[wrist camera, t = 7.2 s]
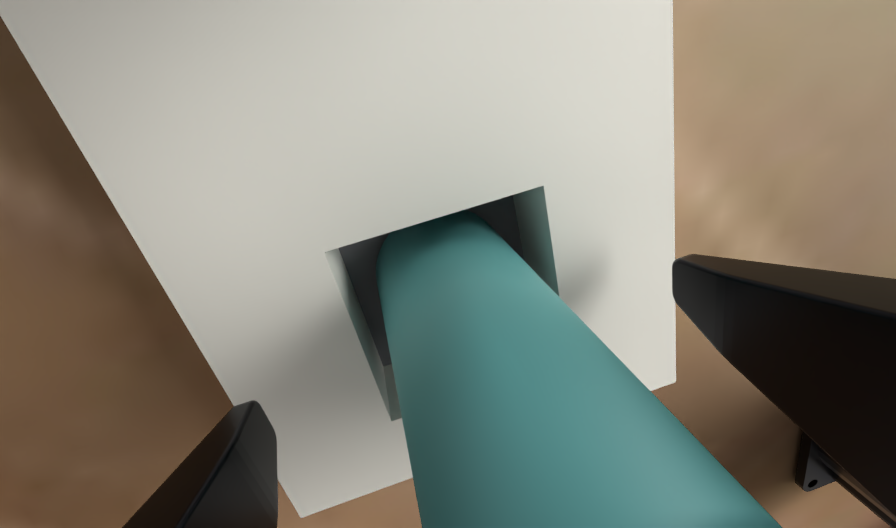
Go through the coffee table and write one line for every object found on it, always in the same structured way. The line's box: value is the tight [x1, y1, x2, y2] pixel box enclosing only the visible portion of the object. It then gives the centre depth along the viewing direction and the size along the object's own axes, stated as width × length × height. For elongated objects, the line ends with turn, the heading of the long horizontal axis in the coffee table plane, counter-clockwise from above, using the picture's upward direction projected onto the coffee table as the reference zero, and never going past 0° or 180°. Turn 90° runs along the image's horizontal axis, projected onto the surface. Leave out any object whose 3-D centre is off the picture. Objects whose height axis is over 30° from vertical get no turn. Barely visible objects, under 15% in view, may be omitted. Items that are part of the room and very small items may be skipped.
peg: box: [376, 210, 782, 528], centre depth 8 cm, size 4×4×9 cm
